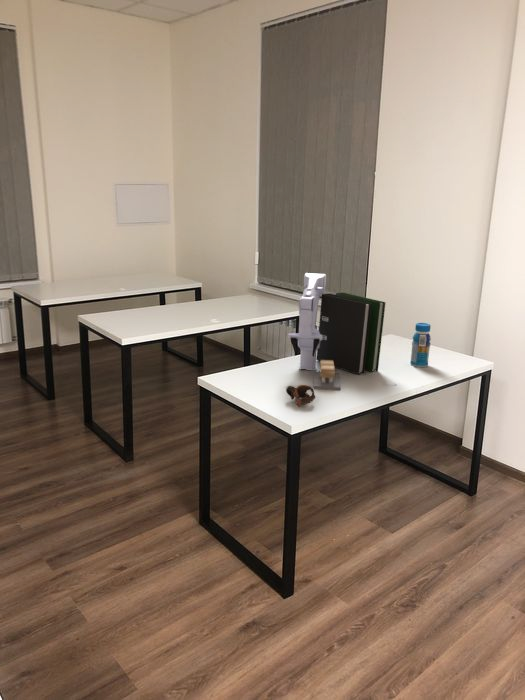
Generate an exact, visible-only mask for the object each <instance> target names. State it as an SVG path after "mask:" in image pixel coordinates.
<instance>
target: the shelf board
mask: <svg viewBox="0 0 525 700" xmlns="http://www.w3.org/2000/svg"><path fill="white" fill-rule="evenodd" d="M319 364H320V365H319V366H320V367H319V369H320V371H319V372H321V377H326V378H334V374H335V371H336V370H335V368H336V367H335V366H334V362H333V360H321V361H319Z"/></svg>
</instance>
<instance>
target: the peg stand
mask: <svg viewBox="0 0 525 700" xmlns="http://www.w3.org/2000/svg"><path fill="white" fill-rule="evenodd" d="M312 375H313V376H314V377H313V390H328V389H330V390H332V391H341V389H342V386H341V380H340V374H339V372H338V371H337V372H335V374H334V378H326V377H321V371H317V370H313V374H312Z"/></svg>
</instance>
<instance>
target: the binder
mask: <svg viewBox="0 0 525 700" xmlns="http://www.w3.org/2000/svg"><path fill="white" fill-rule="evenodd" d="M385 311H386V301H383V300H382V301H381V300H378V299H374V298H369V297H364V296H359V295H356V294H351V293H347V292H336V293H334V294H333V293H329V292H328V293H323V294H321V301H320V311H319V313H320V314H319V323H318V325H319V326H318V331H319V332H320V335H322V340H320V348H319V349H317V352H316V361H319V362H321V360H333V362H334V368H338V369H342V370H343V371H347V372H349V373H352V374H355V375H358V376H359V375H360V374H363V375H364V374H365V371H367V372H370V373H373V372H374V371H375V370H376V371H375V372H378V371H379V366H380V365H379V364H380V356H381V355H380V354H381V345H382V338H383V329H384V328H383V327H384V322H385V321H384V319H385Z"/></svg>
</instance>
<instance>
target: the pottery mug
mask: <svg viewBox="0 0 525 700" xmlns="http://www.w3.org/2000/svg"><path fill="white" fill-rule="evenodd" d="M314 390H315V389H314V388H312V387H311V386H309V385H307V384H300V385H297V386H296V387H295V386H293V385H289V386H287V387H286V389H285V391H286V394H287V395H288V396H289V397H290V399H291V400H296V403H295V406H296V407H298V408H299V407H300V406H304V405H308V404H311V403H312V402H313V401H314V400H315V399H316V396H315V391H314ZM308 391H311V395H310V394H308V393H307V392H308Z"/></svg>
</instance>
